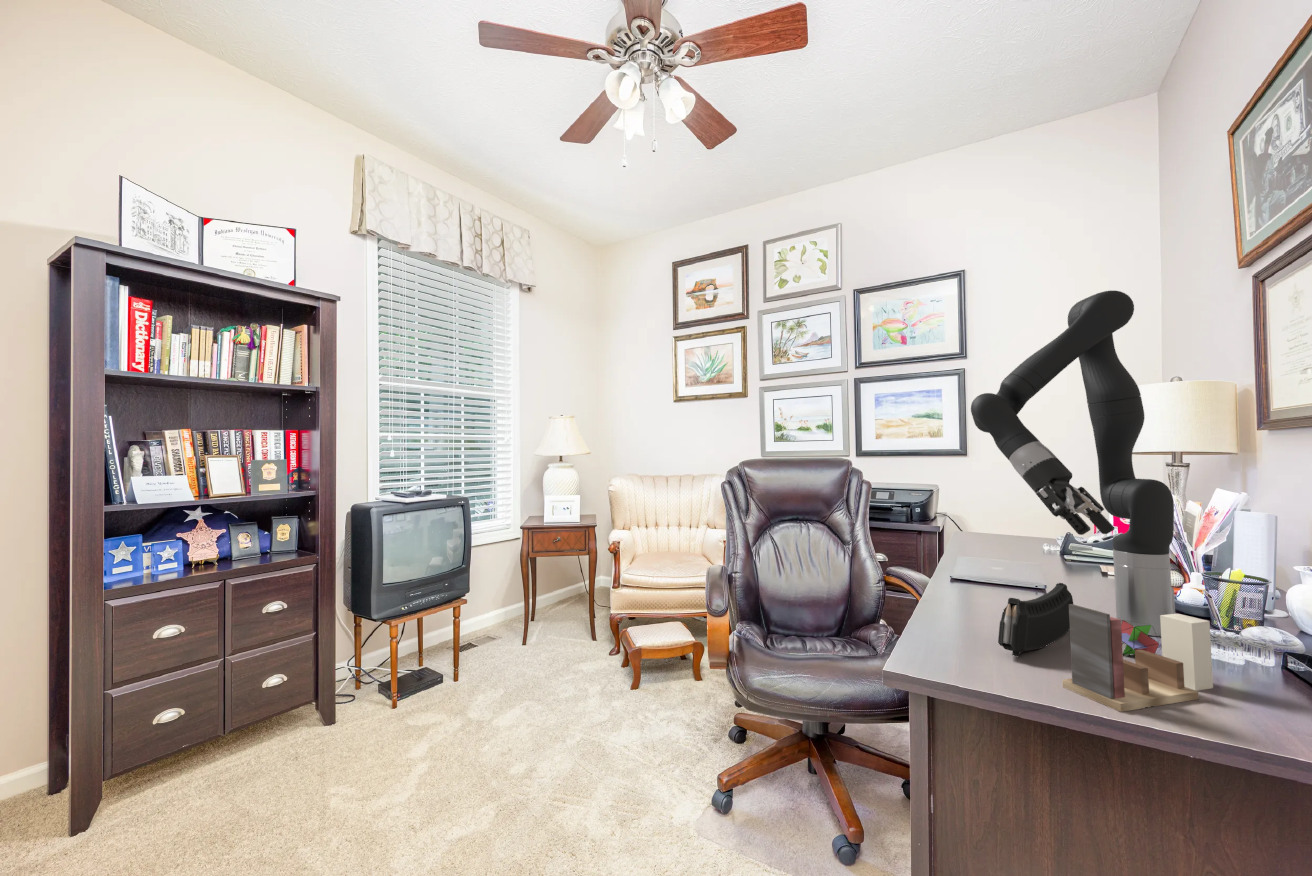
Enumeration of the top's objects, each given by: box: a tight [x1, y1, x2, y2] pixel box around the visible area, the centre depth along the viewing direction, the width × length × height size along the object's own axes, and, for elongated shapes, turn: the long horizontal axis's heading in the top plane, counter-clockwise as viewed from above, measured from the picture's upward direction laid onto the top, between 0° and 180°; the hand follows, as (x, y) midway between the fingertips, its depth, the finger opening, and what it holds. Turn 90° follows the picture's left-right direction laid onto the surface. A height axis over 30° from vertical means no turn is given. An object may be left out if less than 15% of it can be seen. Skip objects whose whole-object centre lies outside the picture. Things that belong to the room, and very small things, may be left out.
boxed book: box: [1160, 613, 1214, 692], centre depth 89 cm, size 4×4×11 cm
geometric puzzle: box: [1121, 620, 1162, 659], centre depth 101 cm, size 7×7×8 cm
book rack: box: [1062, 603, 1199, 713], centre depth 86 cm, size 16×9×14 cm, turn 103°
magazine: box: [997, 582, 1075, 657], centre depth 110 cm, size 17×3×30 cm
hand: (1097, 532), depth 102 cm, fingers open, 8 cm apart
